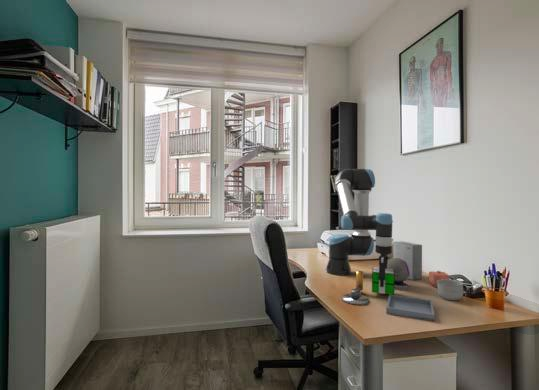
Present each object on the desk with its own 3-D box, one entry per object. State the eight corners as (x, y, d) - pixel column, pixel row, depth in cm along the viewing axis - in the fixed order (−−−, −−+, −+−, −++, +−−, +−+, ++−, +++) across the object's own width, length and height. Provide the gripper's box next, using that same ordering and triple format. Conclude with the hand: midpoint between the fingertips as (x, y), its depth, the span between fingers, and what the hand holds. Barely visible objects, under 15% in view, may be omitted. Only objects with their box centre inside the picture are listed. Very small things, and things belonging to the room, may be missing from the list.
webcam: (411, 290, 155) (412, 261, 155) (385, 288, 158) (385, 260, 158) (405, 283, 168) (406, 256, 168) (381, 281, 170) (381, 255, 170)
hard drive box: (422, 279, 176) (422, 244, 175) (412, 280, 173) (412, 245, 173) (401, 272, 190) (402, 240, 190) (392, 273, 187) (392, 241, 187)
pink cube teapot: (436, 290, 156) (436, 274, 156) (427, 283, 168) (427, 268, 168) (452, 290, 155) (452, 274, 155) (442, 283, 167) (442, 268, 167)
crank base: (344, 294, 149) (344, 292, 149) (370, 298, 144) (370, 295, 144) (339, 302, 138) (339, 299, 138) (367, 306, 133) (367, 304, 133)
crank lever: (359, 299, 138) (359, 279, 138) (350, 297, 140) (350, 278, 140) (364, 289, 152) (364, 271, 152) (355, 288, 154) (356, 270, 154)
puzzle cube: (393, 288, 152) (393, 268, 152) (394, 295, 143) (394, 274, 142) (372, 286, 155) (372, 266, 155) (371, 292, 146) (372, 271, 146)
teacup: (454, 304, 137) (454, 286, 137) (431, 296, 146) (431, 280, 146) (471, 299, 143) (472, 282, 143) (449, 292, 153) (449, 276, 153)
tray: (389, 299, 142) (389, 294, 142) (431, 306, 134) (431, 300, 134) (386, 313, 126) (386, 307, 126) (434, 321, 118) (434, 314, 118)
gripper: (390, 250, 136) (389, 298, 137) (393, 241, 157) (392, 284, 158) (372, 248, 140) (372, 295, 140) (378, 240, 160) (377, 282, 161)
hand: (382, 289), depth 149 cm, fingers closed on puzzle cube, 10 cm apart
